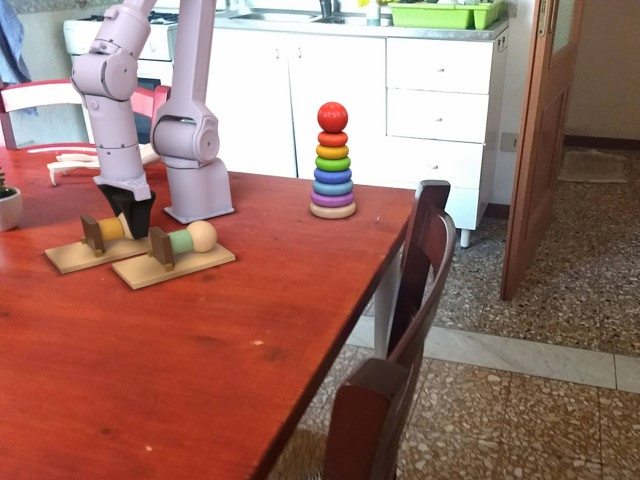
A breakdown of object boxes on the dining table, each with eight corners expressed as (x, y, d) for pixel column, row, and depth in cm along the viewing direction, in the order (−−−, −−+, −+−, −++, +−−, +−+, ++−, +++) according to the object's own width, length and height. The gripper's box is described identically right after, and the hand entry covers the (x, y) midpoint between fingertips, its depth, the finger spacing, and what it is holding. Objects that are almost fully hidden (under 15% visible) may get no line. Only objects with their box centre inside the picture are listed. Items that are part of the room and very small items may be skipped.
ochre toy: (144, 230, 100) (139, 202, 97) (156, 239, 97) (151, 211, 94) (86, 243, 95) (79, 215, 92) (96, 254, 92) (90, 224, 89)
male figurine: (52, 202, 117) (188, 178, 118) (38, 170, 114) (178, 146, 115) (74, 178, 129) (197, 157, 130) (62, 149, 126) (188, 128, 127)
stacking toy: (345, 223, 106) (343, 109, 97) (302, 216, 108) (296, 104, 99) (362, 207, 113) (362, 100, 104) (321, 201, 115) (317, 95, 106)
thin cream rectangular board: (211, 242, 98) (209, 232, 97) (235, 259, 93) (234, 249, 92) (112, 268, 90) (110, 257, 89) (133, 289, 84) (131, 278, 84)
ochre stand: (146, 230, 102) (144, 220, 101) (166, 246, 96) (165, 236, 96) (45, 254, 93) (42, 244, 92) (62, 274, 88) (59, 263, 87)
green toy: (210, 242, 96) (206, 213, 94) (224, 252, 93) (221, 222, 91) (153, 257, 91) (148, 227, 89) (166, 268, 88) (161, 237, 86)
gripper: (71, 136, 92) (91, 223, 99) (105, 160, 83) (125, 254, 89) (120, 129, 96) (136, 213, 103) (158, 151, 87) (173, 242, 93)
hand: (134, 232), depth 96 cm, fingers closed on ochre toy, 4 cm apart
